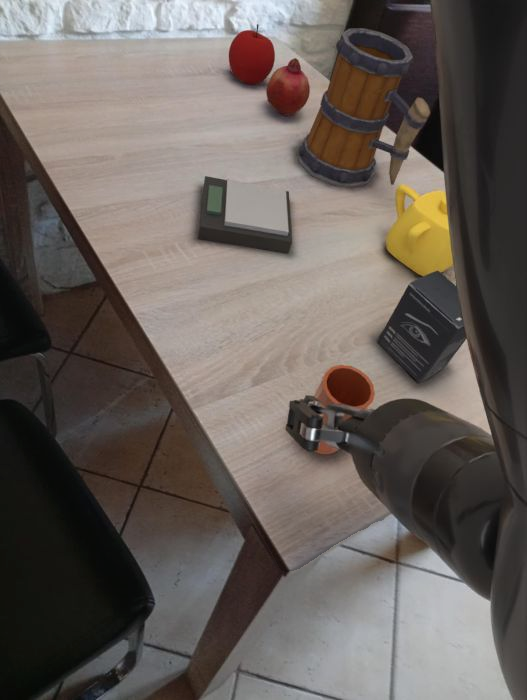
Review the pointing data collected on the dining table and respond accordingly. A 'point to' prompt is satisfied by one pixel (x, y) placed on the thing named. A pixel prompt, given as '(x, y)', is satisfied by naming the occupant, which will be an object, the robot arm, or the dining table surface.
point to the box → (425, 326)
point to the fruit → (288, 88)
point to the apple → (251, 57)
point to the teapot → (421, 232)
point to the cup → (343, 393)
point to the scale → (245, 215)
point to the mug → (361, 111)
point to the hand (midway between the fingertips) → (350, 411)
